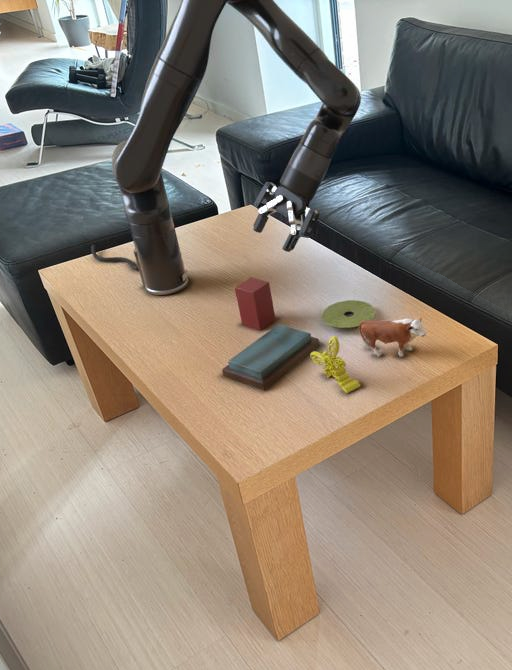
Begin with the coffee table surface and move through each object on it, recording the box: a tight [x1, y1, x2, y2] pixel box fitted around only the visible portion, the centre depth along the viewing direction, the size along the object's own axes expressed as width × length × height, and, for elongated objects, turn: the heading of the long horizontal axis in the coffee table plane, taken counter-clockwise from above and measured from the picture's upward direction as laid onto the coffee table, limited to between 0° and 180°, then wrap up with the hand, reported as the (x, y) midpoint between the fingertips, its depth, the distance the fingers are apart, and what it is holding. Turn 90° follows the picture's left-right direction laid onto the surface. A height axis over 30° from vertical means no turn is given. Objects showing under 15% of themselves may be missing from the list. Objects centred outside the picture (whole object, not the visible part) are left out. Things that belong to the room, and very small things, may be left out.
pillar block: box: [234, 276, 276, 331], centre depth 153 cm, size 5×5×9 cm
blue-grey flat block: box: [221, 323, 320, 391], centre depth 142 cm, size 10×17×3 cm, turn 151°
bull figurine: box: [358, 317, 427, 358], centre depth 142 cm, size 4×13×8 cm, turn 78°
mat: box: [321, 299, 376, 329], centre depth 154 cm, size 11×11×2 cm
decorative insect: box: [309, 335, 361, 394], centre depth 135 cm, size 13×3×10 cm
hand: (271, 241), depth 154 cm, fingers open, 8 cm apart
